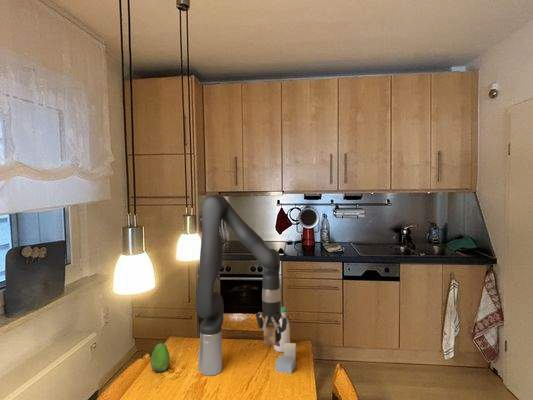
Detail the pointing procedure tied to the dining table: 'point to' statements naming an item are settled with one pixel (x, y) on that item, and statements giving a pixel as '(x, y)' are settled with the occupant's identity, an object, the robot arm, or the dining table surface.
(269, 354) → the dining table surface
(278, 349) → the milk bottle
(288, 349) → the beige block
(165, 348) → the avocado
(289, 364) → the base block
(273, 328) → the walnut block
